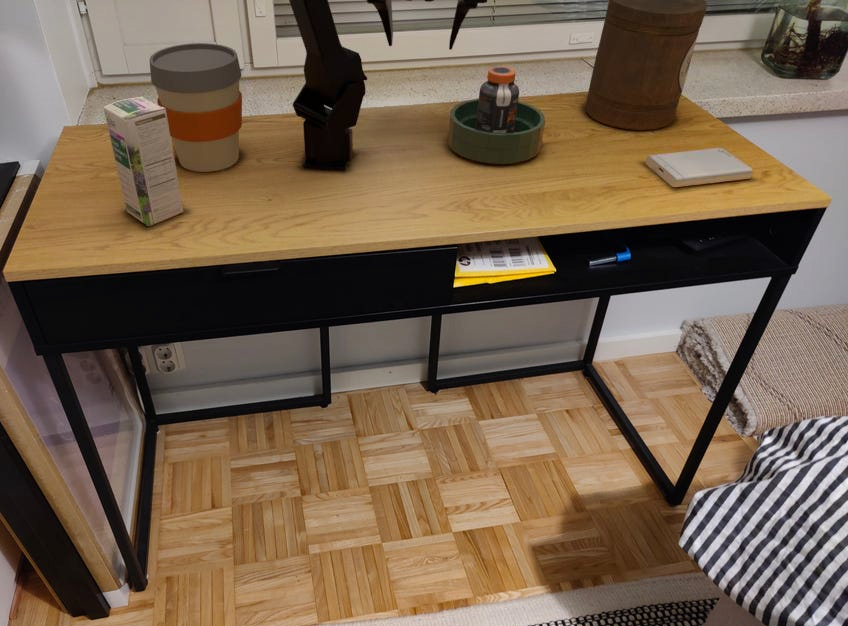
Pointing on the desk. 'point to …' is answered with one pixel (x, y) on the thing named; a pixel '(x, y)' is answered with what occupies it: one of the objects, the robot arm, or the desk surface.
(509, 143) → the bowl
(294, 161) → the desk surface
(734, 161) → the hard drive
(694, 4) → the wooden container
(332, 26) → the robot arm
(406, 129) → the desk surface
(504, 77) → the pill bottle
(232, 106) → the reusable coffee cup
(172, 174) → the syrup box
